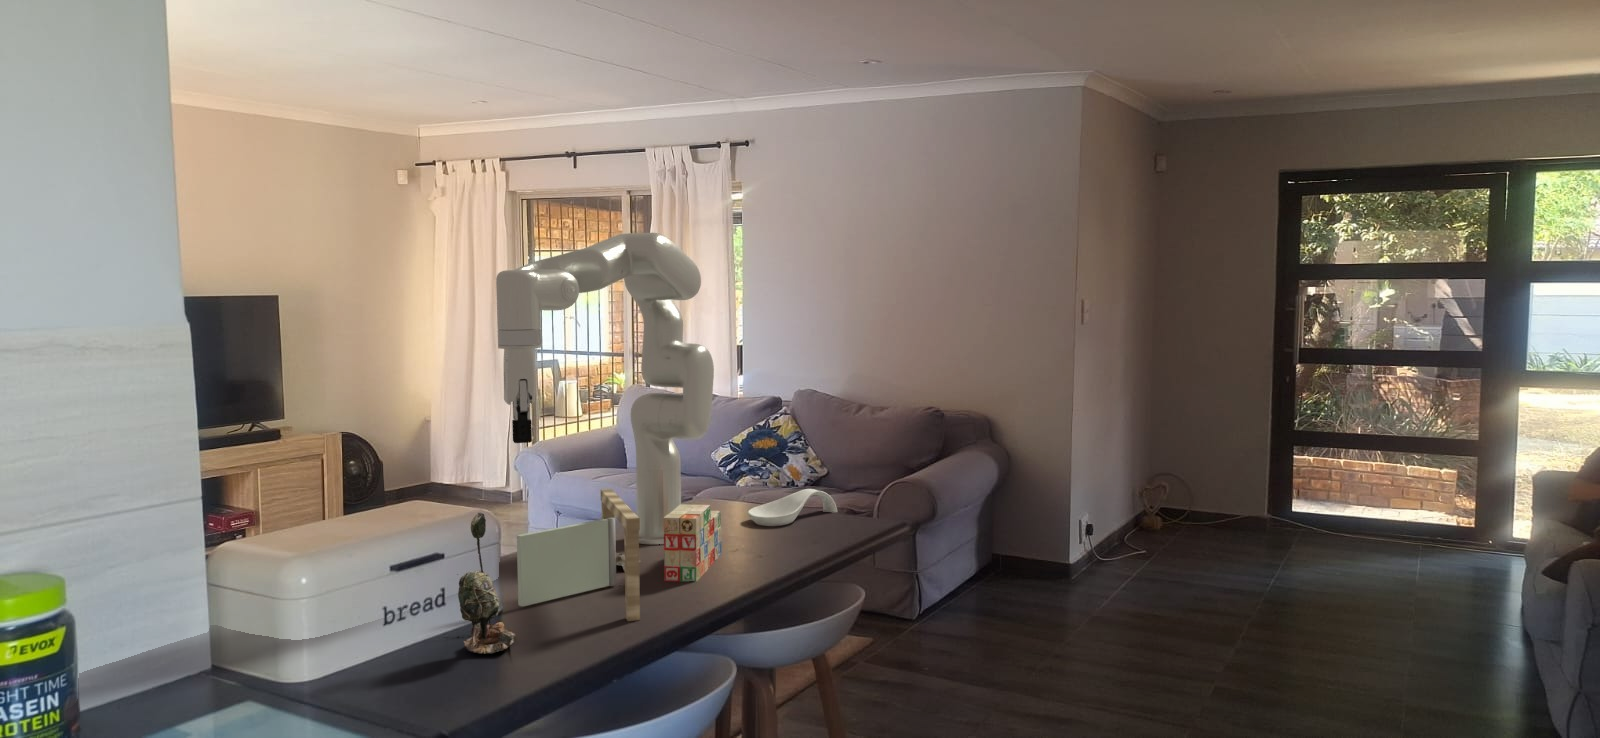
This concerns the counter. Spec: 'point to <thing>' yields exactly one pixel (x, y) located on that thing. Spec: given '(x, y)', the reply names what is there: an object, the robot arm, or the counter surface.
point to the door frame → (626, 548)
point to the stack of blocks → (690, 542)
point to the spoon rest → (788, 508)
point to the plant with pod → (482, 604)
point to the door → (566, 560)
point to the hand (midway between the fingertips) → (522, 442)
